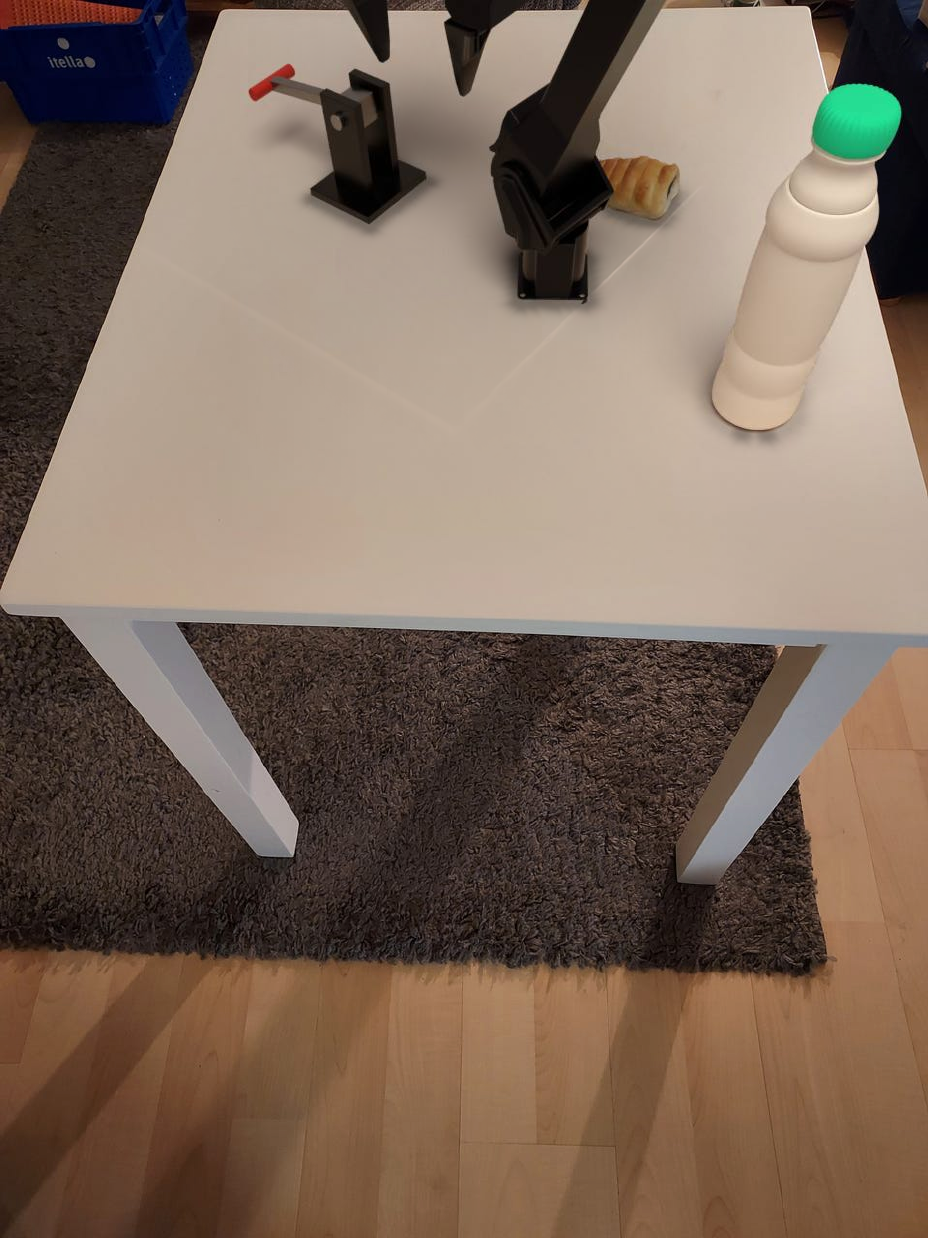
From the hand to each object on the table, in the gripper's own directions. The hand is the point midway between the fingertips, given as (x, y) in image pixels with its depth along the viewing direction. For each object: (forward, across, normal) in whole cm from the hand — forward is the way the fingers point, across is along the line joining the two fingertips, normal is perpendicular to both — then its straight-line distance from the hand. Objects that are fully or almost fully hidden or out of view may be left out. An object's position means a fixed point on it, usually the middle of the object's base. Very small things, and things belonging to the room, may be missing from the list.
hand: (424, 76), depth 73 cm
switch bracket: (+13, +8, +1) cm, 15 cm away
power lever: (+6, +13, +1) cm, 15 cm away
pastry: (+13, -15, -13) cm, 24 cm away
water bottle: (+13, -38, +4) cm, 40 cm away
